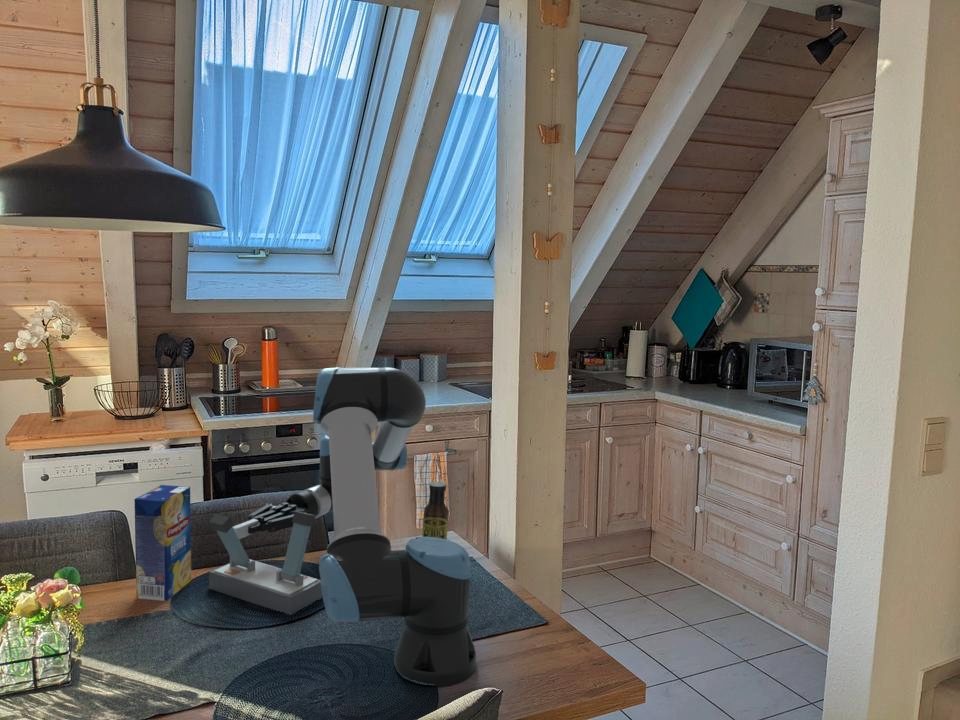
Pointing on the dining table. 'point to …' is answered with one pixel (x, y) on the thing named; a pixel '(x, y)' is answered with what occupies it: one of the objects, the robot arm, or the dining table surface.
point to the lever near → (297, 545)
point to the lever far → (229, 539)
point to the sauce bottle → (436, 513)
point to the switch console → (265, 586)
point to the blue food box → (162, 542)
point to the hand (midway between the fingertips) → (234, 533)
